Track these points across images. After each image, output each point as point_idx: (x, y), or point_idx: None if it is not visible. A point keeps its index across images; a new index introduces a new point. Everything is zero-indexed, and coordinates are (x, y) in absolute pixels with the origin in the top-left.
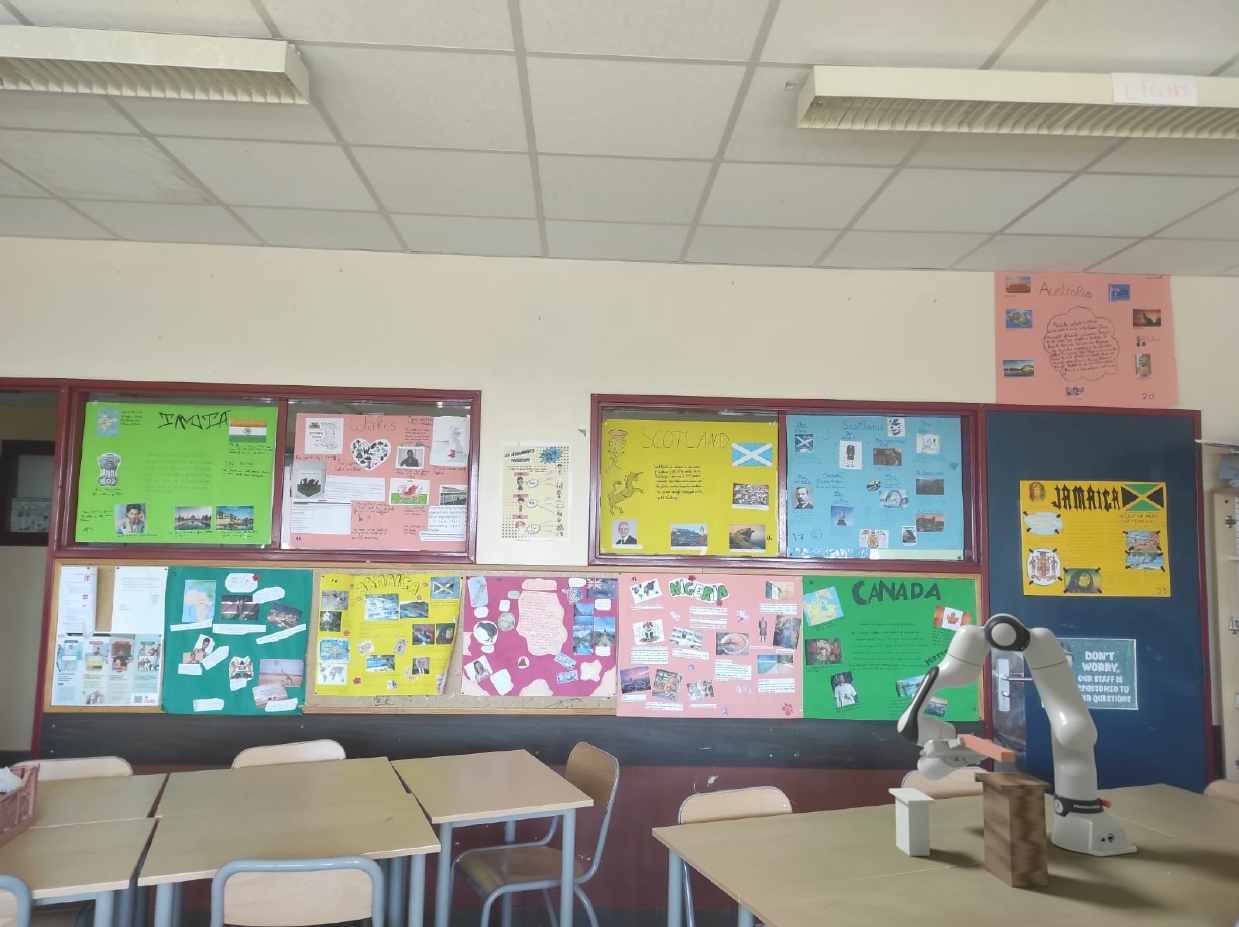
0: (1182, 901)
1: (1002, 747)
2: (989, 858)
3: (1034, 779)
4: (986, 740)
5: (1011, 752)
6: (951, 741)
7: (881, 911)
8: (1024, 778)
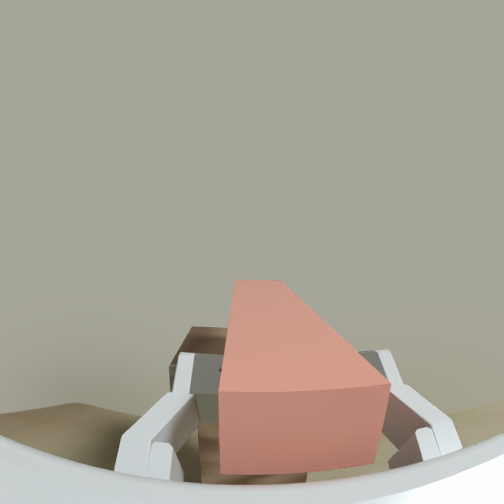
0: (74, 425)
1: (236, 288)
2: None
3: (199, 339)
4: (5, 439)
5: (246, 280)
6: (435, 418)
7: (463, 418)
8: (219, 343)
